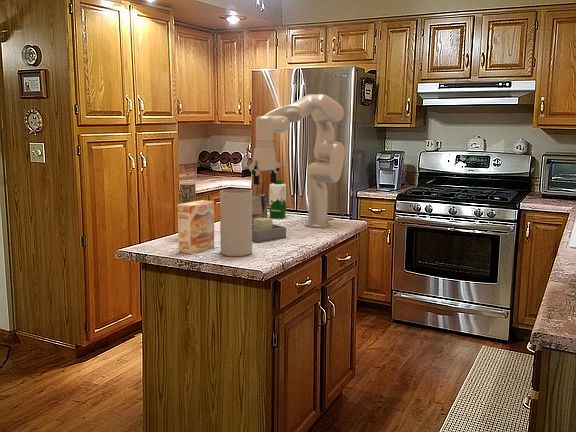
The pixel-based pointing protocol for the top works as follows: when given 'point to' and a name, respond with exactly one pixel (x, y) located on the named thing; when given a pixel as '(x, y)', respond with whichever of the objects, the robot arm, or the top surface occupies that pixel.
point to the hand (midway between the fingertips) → (265, 183)
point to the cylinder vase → (236, 222)
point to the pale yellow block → (262, 224)
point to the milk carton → (277, 200)
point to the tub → (269, 234)
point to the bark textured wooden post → (187, 192)
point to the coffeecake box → (195, 226)
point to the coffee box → (259, 206)
